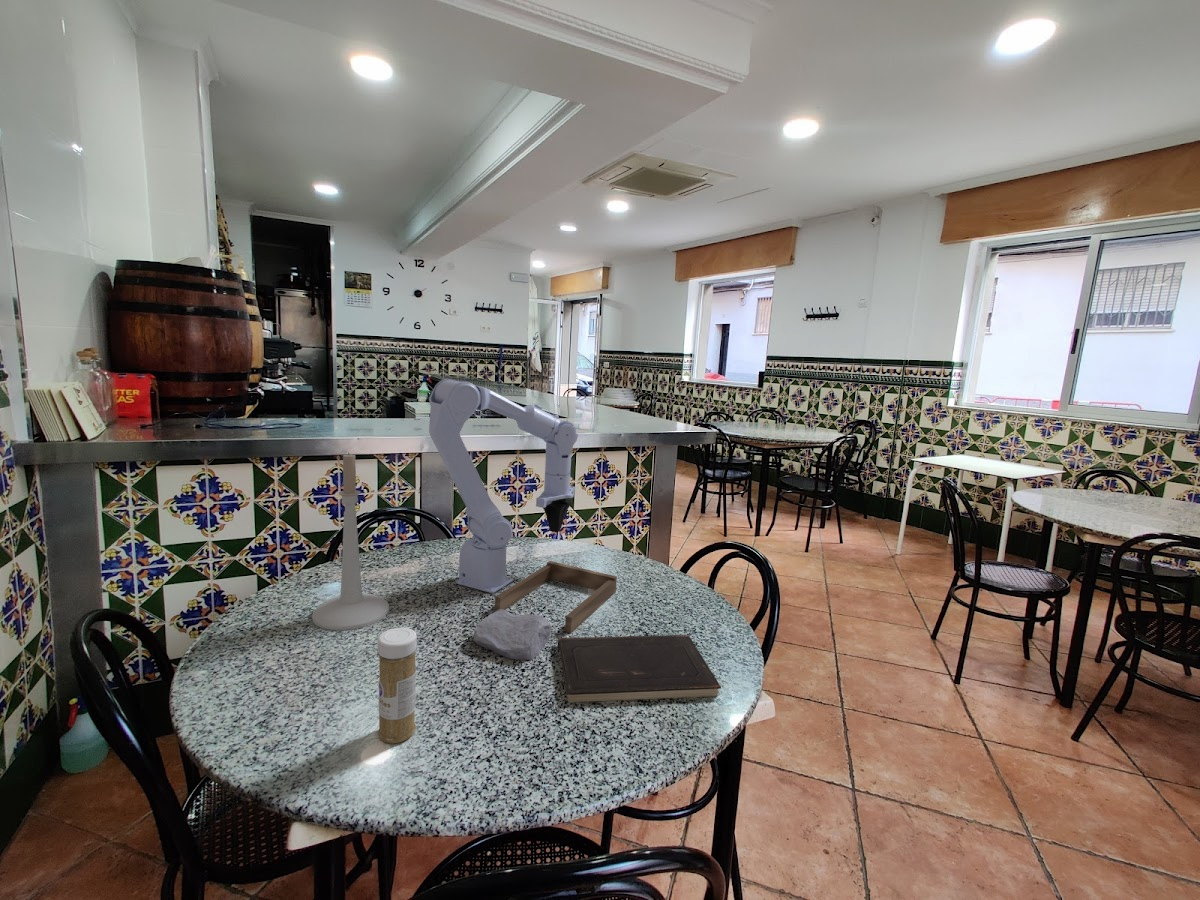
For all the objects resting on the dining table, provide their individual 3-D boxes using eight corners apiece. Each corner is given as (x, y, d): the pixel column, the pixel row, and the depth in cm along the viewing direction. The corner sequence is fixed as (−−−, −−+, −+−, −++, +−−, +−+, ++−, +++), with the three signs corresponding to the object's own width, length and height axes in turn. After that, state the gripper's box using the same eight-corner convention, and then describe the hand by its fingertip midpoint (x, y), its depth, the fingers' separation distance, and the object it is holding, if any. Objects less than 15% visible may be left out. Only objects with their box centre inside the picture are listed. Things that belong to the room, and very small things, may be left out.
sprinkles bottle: (371, 733, 69) (370, 634, 67) (404, 716, 72) (404, 622, 70) (390, 750, 66) (389, 648, 64) (423, 732, 69) (424, 635, 67)
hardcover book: (719, 700, 81) (721, 686, 81) (566, 707, 77) (567, 692, 77) (686, 645, 96) (687, 633, 96) (557, 648, 93) (558, 636, 92)
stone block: (532, 674, 87) (554, 634, 96) (529, 650, 86) (553, 612, 94) (466, 661, 91) (494, 624, 100) (463, 637, 89) (492, 602, 98)
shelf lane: (494, 611, 104) (495, 594, 103) (548, 575, 122) (549, 560, 122) (570, 633, 97) (571, 615, 96) (615, 591, 116) (616, 576, 115)
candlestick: (388, 625, 96) (387, 459, 91) (307, 634, 92) (301, 459, 87) (389, 595, 108) (389, 446, 103) (317, 601, 103) (313, 446, 99)
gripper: (557, 481, 114) (554, 543, 116) (587, 470, 127) (584, 526, 129) (528, 476, 116) (526, 537, 119) (561, 466, 130) (558, 521, 132)
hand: (554, 531), depth 124 cm, fingers closed
